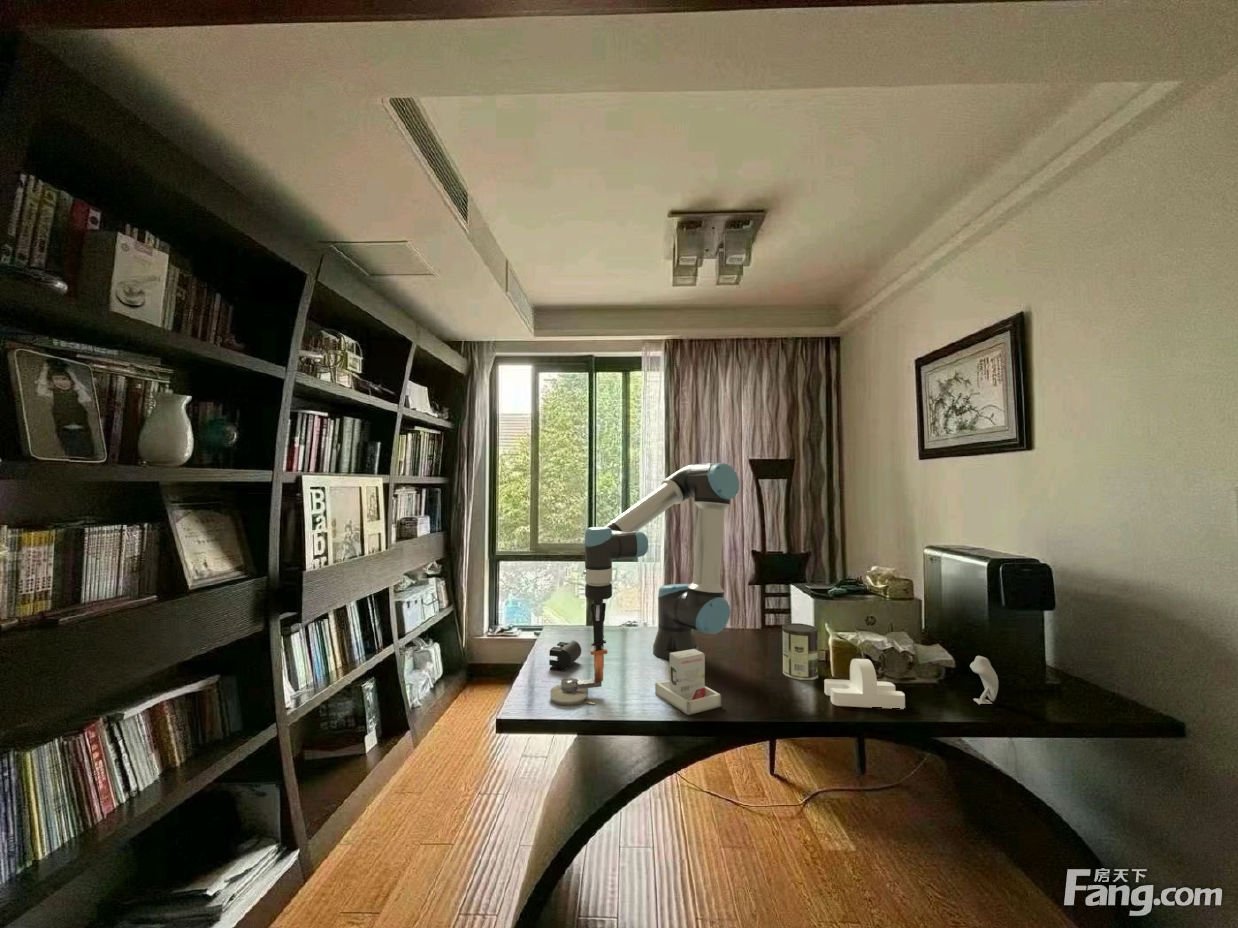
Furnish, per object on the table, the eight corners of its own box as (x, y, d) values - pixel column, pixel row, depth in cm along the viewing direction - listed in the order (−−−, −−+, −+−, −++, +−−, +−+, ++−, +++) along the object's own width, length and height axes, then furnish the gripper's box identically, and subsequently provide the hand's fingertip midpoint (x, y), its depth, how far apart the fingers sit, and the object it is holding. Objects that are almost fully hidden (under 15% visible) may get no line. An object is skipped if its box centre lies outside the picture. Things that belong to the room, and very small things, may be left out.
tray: (686, 686, 145) (686, 676, 145) (721, 706, 132) (721, 694, 133) (655, 694, 140) (655, 682, 140) (688, 714, 127) (688, 702, 127)
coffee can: (809, 667, 161) (808, 622, 162) (824, 680, 151) (823, 631, 152) (777, 668, 161) (777, 622, 161) (790, 680, 151) (790, 632, 151)
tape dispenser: (906, 710, 132) (906, 667, 132) (834, 706, 134) (833, 664, 134) (890, 695, 141) (890, 655, 142) (823, 691, 143) (822, 652, 144)
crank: (562, 692, 134) (563, 655, 134) (559, 686, 138) (560, 650, 139) (608, 687, 137) (608, 652, 138) (604, 681, 142) (605, 647, 142)
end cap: (570, 673, 155) (570, 650, 156) (548, 670, 157) (548, 648, 158) (581, 662, 165) (581, 640, 165) (560, 660, 167) (561, 638, 167)
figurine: (1004, 709, 132) (1003, 662, 133) (981, 707, 133) (980, 660, 134) (988, 697, 140) (987, 652, 140) (966, 696, 140) (965, 651, 141)
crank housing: (578, 688, 143) (578, 680, 144) (598, 704, 133) (598, 696, 133) (544, 694, 139) (544, 687, 139) (562, 712, 128) (562, 704, 128)
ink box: (694, 691, 140) (694, 647, 141) (706, 698, 136) (706, 653, 136) (667, 697, 136) (668, 652, 137) (678, 704, 132) (678, 657, 132)
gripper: (586, 578, 149) (587, 659, 149) (583, 588, 137) (583, 677, 136) (612, 578, 149) (612, 659, 149) (611, 588, 137) (611, 677, 136)
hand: (598, 668), depth 142 cm, fingers closed
